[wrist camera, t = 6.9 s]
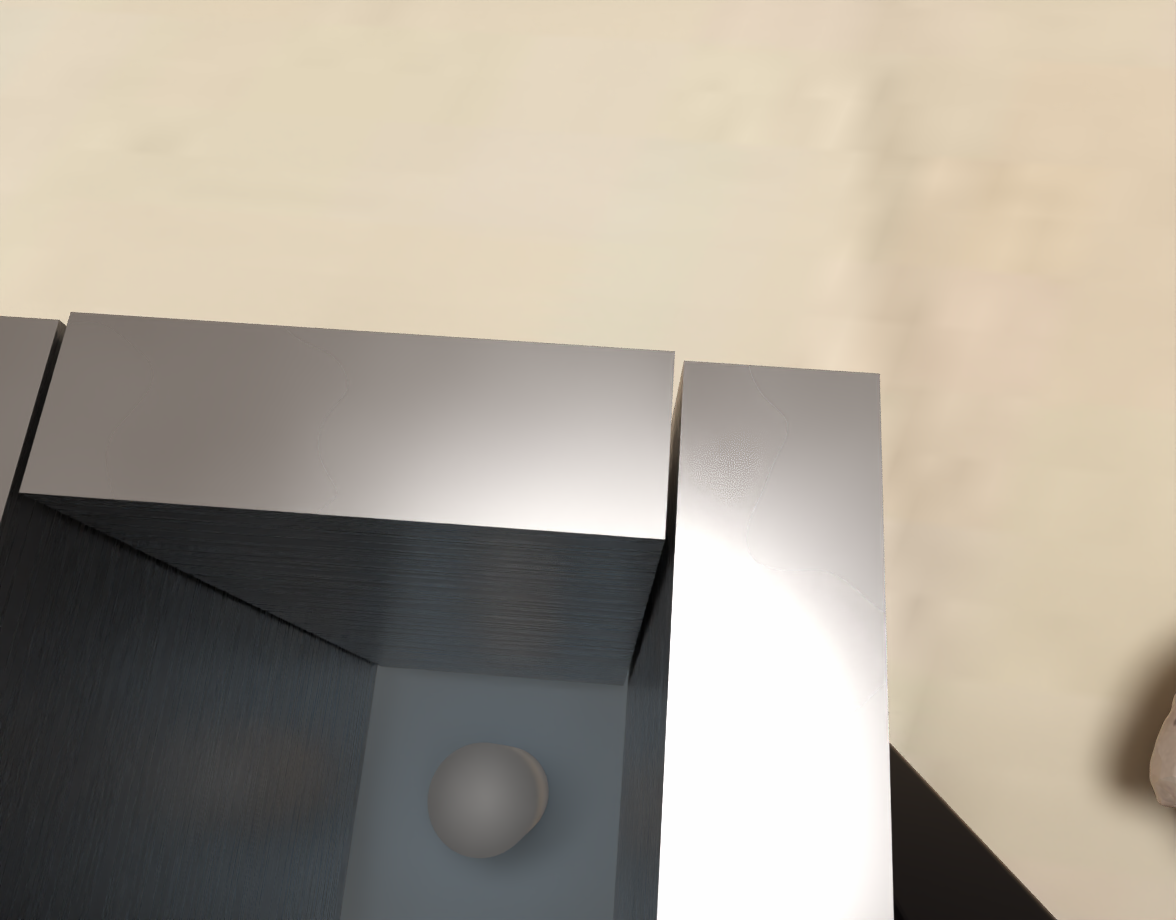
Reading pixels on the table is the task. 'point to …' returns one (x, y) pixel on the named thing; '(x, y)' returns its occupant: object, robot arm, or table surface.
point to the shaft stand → (487, 799)
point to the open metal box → (427, 606)
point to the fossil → (1165, 761)
